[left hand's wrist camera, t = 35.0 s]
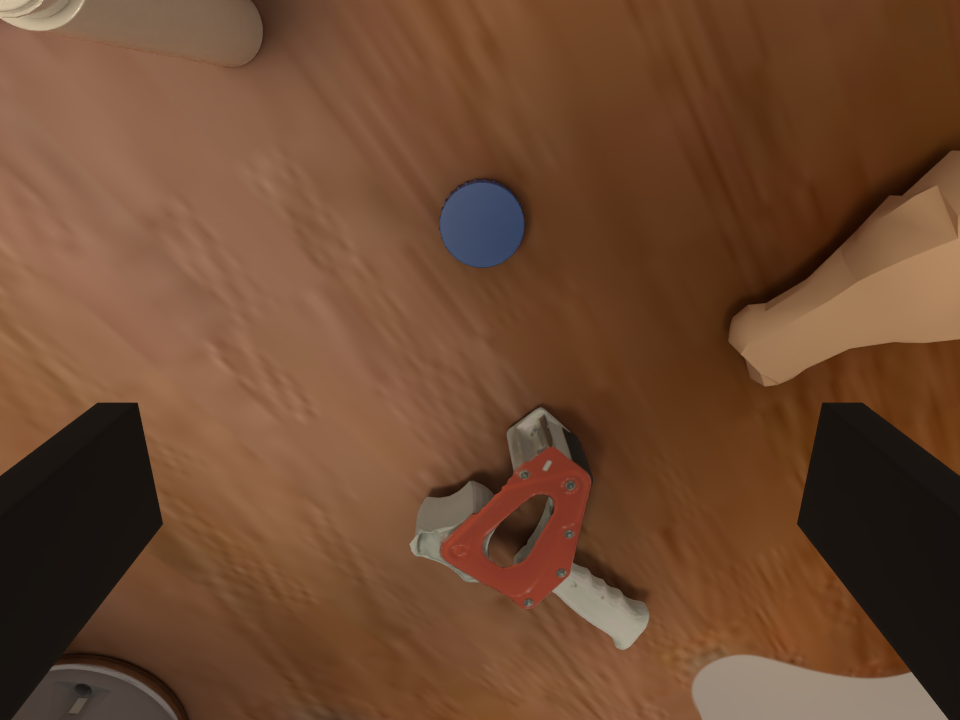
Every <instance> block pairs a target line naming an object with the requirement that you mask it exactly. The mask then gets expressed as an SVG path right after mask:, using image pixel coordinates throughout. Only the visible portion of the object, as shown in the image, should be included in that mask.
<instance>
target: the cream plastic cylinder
mask: <svg viewBox="0 0 960 720" xmlns="http://www.w3.org/2000/svg"><path fill="white" fill-rule="evenodd" d="M0 18H1V19H2V20H4V21H5V22H7V23H9V24H11V25H13V26H16V27H19V28H22V29H26V30H30V31H36V32H41V33H46V34H52V35H57V36H62V37H68V38H73V39H78V40H84V41H89V42H94V43H100V44H105V45H110V46H116V47H121V48H126V49H132V50H137V51H142V52H148V53H153V54H158V55H164V56H169V57H174V58H180V59H185V60H190V61H196V62H201V63H206V64H212V65H217V66H223V67H230V68H232V67H239V66H242V65H245V64H246V63H248V62H249V61H251V60H252V59H253V58H254V57H255V56H256V54H257V53H258V51H259V49H260V46H261V44H262V39H263V26H262V21H261V17H260V15H259V12H258V10H257V8H256V7H255V5H254V4H253V2H252V1H251V0H0Z"/></svg>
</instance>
